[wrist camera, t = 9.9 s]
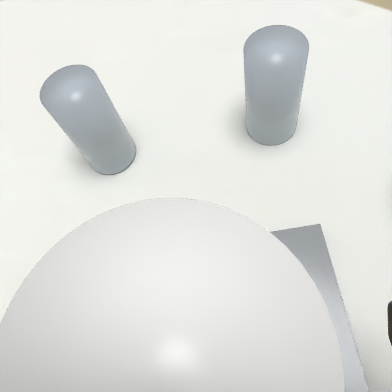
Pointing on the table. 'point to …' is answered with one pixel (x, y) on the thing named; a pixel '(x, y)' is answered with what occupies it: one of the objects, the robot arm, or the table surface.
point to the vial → (169, 309)
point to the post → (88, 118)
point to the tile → (327, 295)
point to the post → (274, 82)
